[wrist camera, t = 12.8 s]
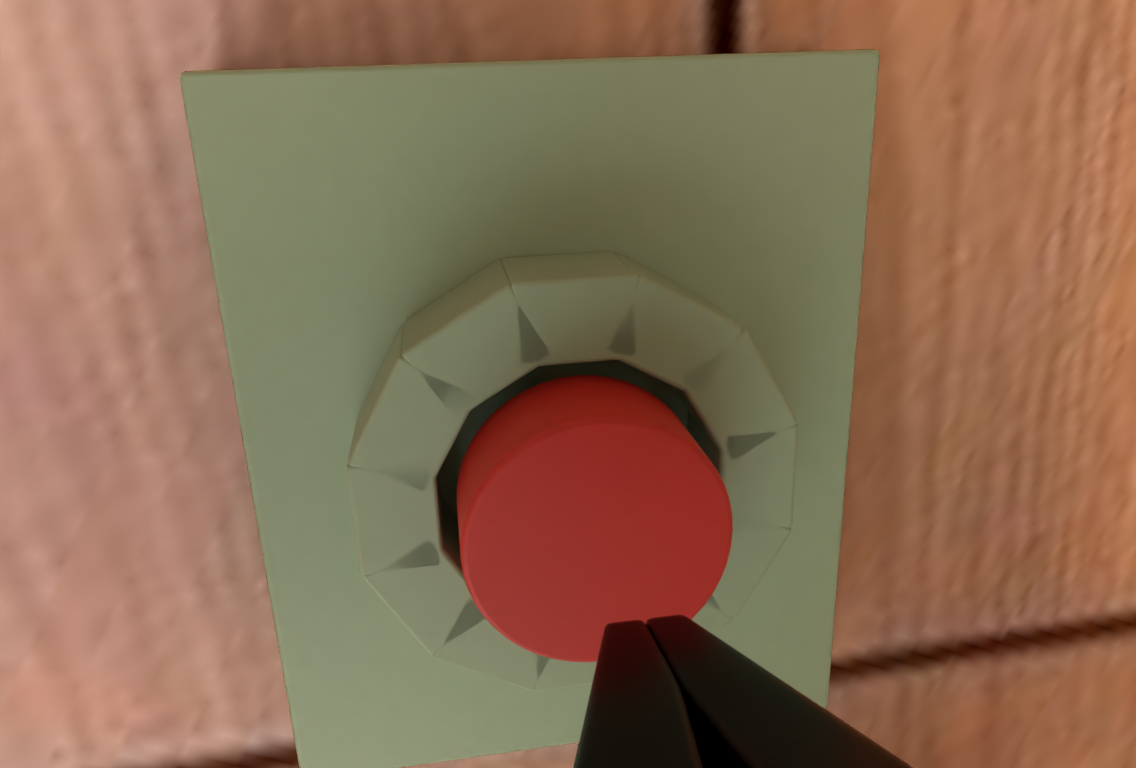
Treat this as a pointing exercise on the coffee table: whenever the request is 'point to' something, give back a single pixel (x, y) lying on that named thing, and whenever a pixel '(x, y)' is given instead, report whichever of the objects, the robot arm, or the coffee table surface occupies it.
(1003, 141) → the coffee table surface
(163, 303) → the coffee table surface
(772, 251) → the control block
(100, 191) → the coffee table surface
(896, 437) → the coffee table surface
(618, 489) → the stop button
